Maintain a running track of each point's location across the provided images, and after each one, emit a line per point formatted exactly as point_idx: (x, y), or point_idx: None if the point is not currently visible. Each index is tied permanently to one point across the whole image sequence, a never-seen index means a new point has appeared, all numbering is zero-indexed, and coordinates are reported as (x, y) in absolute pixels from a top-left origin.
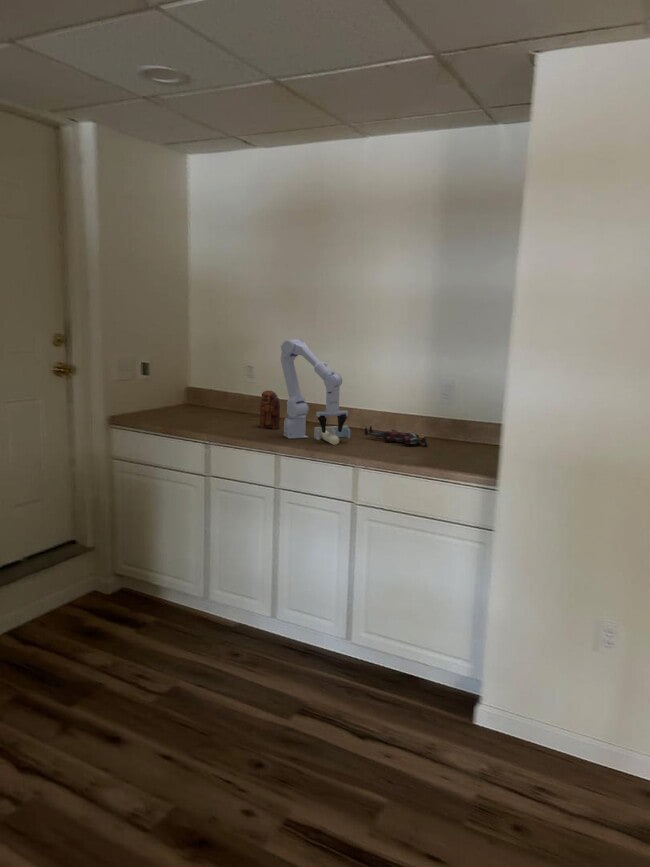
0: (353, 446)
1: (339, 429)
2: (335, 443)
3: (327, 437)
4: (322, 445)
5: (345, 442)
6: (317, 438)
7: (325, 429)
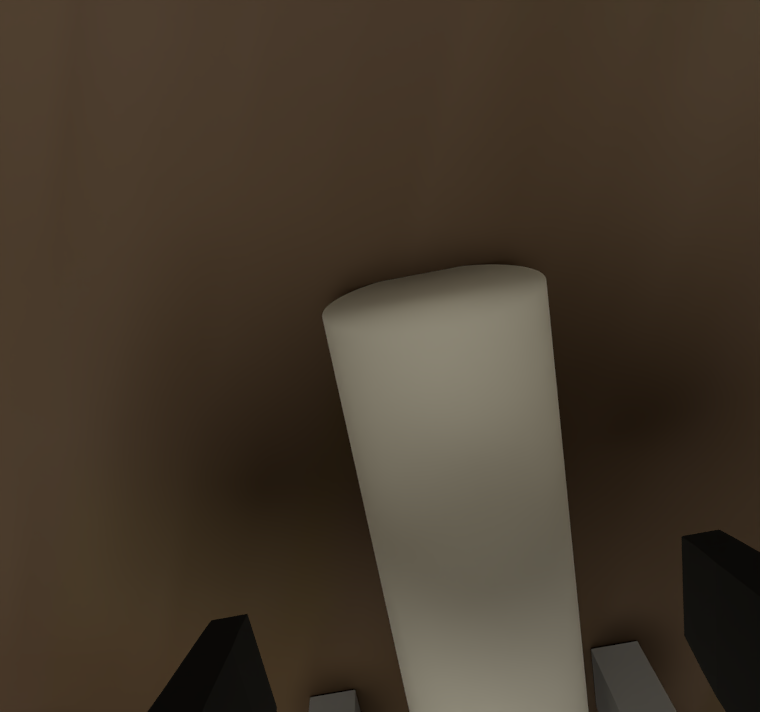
0: (25, 29)
1: (245, 700)
2: (411, 280)
3: (566, 487)
4: (714, 193)
5: (165, 440)
6: (647, 669)
7: (749, 584)
